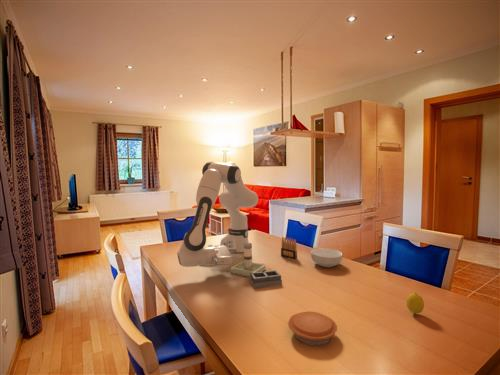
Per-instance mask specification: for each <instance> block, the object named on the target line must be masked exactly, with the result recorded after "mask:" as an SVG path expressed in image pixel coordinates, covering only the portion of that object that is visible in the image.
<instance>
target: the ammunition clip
mask: <svg viewBox="0 0 500 375" xmlns="http://www.w3.org/2000/svg"><path fill="white" fill-rule="evenodd" d="M280 257H284V258H287V259H291V260H298V250H297V240H296V239H293V238H291V237H286V236H285V237H284V236H282V238H281V248H280Z"/></svg>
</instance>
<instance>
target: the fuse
mask: <svg viewBox="0 0 500 375" xmlns="http://www.w3.org/2000/svg"><path fill="white" fill-rule="evenodd" d="M252 251H253V243H252V242H249V243H244V252H243V259H244V260H243V261H244V270H247V271H252V263H253V252H252Z"/></svg>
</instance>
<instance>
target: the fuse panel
mask: <svg viewBox="0 0 500 375" xmlns="http://www.w3.org/2000/svg"><path fill="white" fill-rule="evenodd" d="M249 281H250V283H251V285H252V286H253V288H254V289H259V288H260V289H261V288H265V287H266V288H268V287H274V286H281V285H282V284H283V281H282V275H281V274H280V273H279V272H278V271H277V270H276V269H275V270H267V271H266V270H265V271H264V272H255V273H250V277H249Z"/></svg>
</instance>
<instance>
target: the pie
mask: <svg viewBox="0 0 500 375" xmlns="http://www.w3.org/2000/svg"><path fill="white" fill-rule="evenodd" d="M287 324H288V327H289V329H290V331H291V332H292V333H293V335H294V336H295V337H296V339H297V340H298V341H300V342H301V343H303V344H306V345H310V346H320V345H324V344H327V343H328V342H329V341H330V340H331V339H332V337H333V336H334V335H335V334H336V332H337V331H338V325H337V324H336V322H335V321H334V320H333V319H332V318H331V317H329V316H327V315H326V314H323V313H320V312H316V311H302V312H298V313H295V314H292V315H291V316H290V318H289V320H288V323H287Z"/></svg>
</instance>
